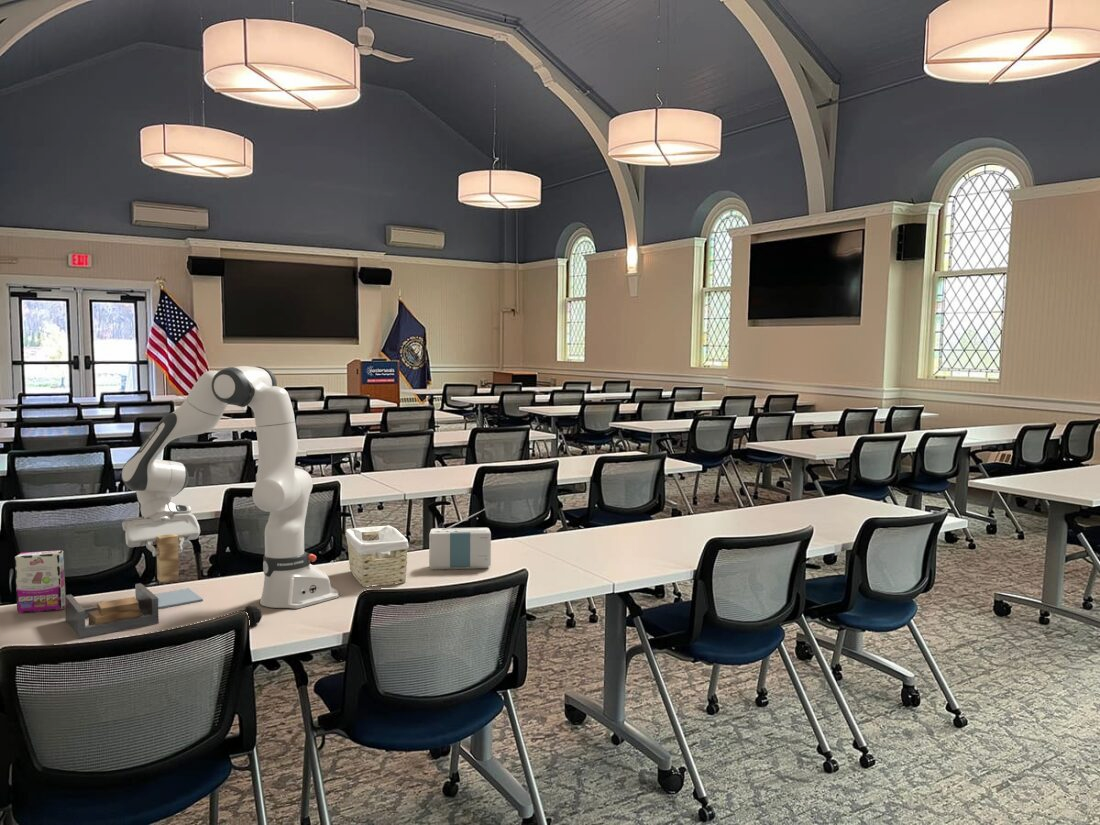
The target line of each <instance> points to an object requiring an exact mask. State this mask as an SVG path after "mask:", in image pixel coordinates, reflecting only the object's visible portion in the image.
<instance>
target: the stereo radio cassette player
mask: <svg viewBox="0 0 1100 825" xmlns="http://www.w3.org/2000/svg"><path fill="white" fill-rule="evenodd" d="M483 511H486V508H483V509H481V510H480V511H478V512H476V513H473V514H472V515H470V516H468V517H466V518H464V519H461V520H459V521H457V522H456V523H454V524H452V525H449V526H448V527H446V528H445V527H444V528H443V527H442V528H441V527H440V528H439V527H438V528H431V529H430V532H429V534H428V539H429V543H428V545H429V548H428V549H429V550H428V551H429V553H428V556H429V558H428V559H429V561H428V562H429V568H430V569H431V570H433V569H435V570H453V569H454V570H459V569H462V570H463V569H467V570H468V569H485V570H486V569H488V568H489V567H491V565H492V558H491V557H492V553H491V552H492V550H491V549H492V532H491V530H490V528H489V527H455V526H456V525H459V524H460V523H463V522H464V521H467V520H469V519H471V518H472V517H474V516H476V515H477V514H479V513H481V512H483Z"/></svg>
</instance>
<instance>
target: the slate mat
mask: <svg viewBox="0 0 1100 825" xmlns="http://www.w3.org/2000/svg"><path fill="white" fill-rule="evenodd" d="M153 594H154V595H155V596H156V597H157V598H158V610H163V609H167V608H172V607H177V606H183V605H189V604H194V603H199V602H204V599H203V598H202V597H201V596H199V595H198V594H197V593H196V592H194V591H193V590H192V589H190V587H189V588H188V587H187V588H183V589H176V590H169V591H164V592H160V593H153Z"/></svg>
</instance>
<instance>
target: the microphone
mask: <svg viewBox="0 0 1100 825" xmlns="http://www.w3.org/2000/svg"><path fill="white" fill-rule="evenodd" d="M243 611H245V612H247V613H248V616H249V620H250V626H249V627H252V628H253V627H255V625H257V624H258V623H260V621H261V619H262V615H263V614H262V611H261V609H260V608H258V607H257V606H255V605H247V606H245V608H244V609H243Z"/></svg>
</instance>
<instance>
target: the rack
mask: <svg viewBox="0 0 1100 825" xmlns="http://www.w3.org/2000/svg"><path fill="white" fill-rule="evenodd" d="M134 586H135V588H134V589H135V598H136V600H137V601H138V602H139V608H140V613H141V614H142V615H143V616H138V617H132V618H127V619H121V620H116V621H111V622H105V623H100V624H94V625H89V624H88V625H86V619H89V612H91V611H97V610H98V605H95V606H91V607H85V608H84V607H82V605H81V604H80V603H79V601H78V600H76V598H75V597H74V595H72V594H65V607H64V609H65V621H66V623H67V624H68V625H69V627H70V628H71V629H72V631H73V632H74V634H75V635H76V637H77V638H78V639H79V640H80V639H85V638H90V637H96V636H99V635H106V634H110V633H111V634H112V633H115V632H120V631H126V630H132V629H136V628H142V627H146V626H153V625H157V624H159V622H160V621H159V617H160V616H159V609H158V598H157V597H156V596H155V595H154V594H155V593H153V592H152V591H150V590H149V589H148V588H147V587H146V586H145V585H144V584H142V583H140V582H139V583H135V585H134Z"/></svg>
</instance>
